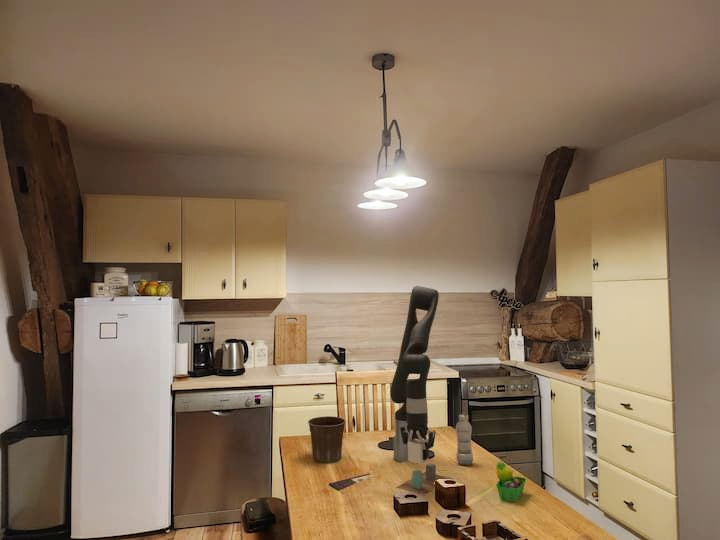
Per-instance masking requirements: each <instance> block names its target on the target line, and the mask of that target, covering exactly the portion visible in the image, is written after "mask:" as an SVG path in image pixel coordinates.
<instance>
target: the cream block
mask: <svg viewBox="0 0 720 540" xmlns="http://www.w3.org/2000/svg"><path fill="white" fill-rule="evenodd" d="M427 461H429V458H428V459H427V460H423V447H422V444H421V443H420V441H419V440H418V439H415V440H413V441H411V442H410V441H409V442H408V461H407V462H411V463H416V464H420V465H421V464H423V463H425V462H427Z"/></svg>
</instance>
